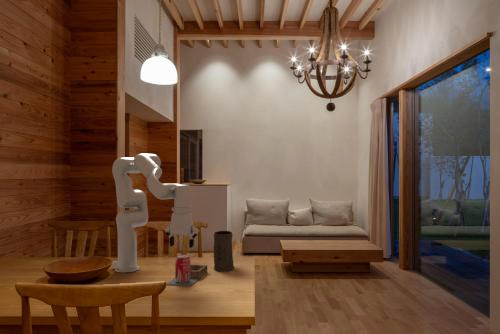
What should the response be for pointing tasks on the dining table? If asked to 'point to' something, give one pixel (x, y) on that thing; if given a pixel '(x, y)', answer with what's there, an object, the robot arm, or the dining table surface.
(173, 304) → the dining table surface
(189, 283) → the mat
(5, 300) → the dining table surface
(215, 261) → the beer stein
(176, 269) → the soda can
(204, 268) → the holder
